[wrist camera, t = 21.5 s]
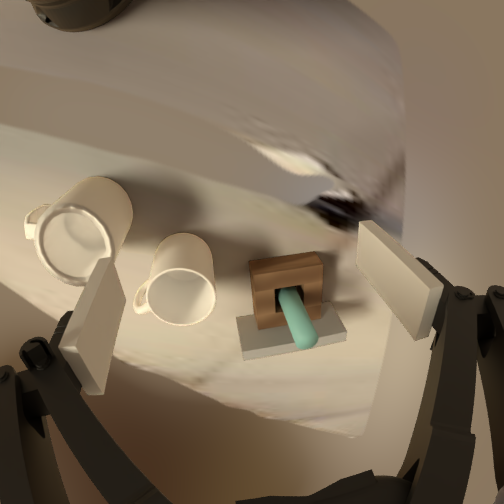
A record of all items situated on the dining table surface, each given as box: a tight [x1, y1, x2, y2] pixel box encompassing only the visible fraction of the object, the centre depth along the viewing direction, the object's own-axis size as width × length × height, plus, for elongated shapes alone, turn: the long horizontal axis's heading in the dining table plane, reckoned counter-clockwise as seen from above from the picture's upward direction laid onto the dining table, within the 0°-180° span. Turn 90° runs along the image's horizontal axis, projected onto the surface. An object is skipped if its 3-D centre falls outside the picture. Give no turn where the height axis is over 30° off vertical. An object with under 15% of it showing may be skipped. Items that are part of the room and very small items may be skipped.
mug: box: [24, 176, 133, 286], centre depth 35 cm, size 14×10×11 cm
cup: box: [133, 233, 216, 326], centre depth 41 cm, size 8×12×10 cm
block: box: [249, 251, 323, 330], centre depth 48 cm, size 10×10×4 cm
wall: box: [236, 301, 347, 361], centre depth 50 cm, size 2×16×8 cm, turn 94°
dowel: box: [275, 286, 319, 350], centre depth 45 cm, size 3×3×13 cm
